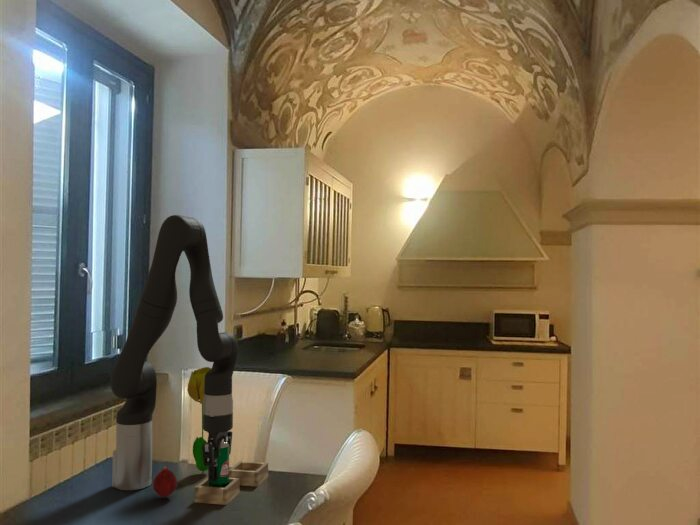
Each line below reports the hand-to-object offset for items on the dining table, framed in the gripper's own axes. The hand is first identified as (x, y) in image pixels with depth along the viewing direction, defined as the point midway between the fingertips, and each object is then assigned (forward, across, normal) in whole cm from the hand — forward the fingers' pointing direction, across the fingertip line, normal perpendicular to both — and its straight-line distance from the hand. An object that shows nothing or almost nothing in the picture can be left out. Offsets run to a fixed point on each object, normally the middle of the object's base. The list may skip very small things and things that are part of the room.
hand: (217, 477), depth 157 cm
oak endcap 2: (+5, -14, +3) cm, 15 cm away
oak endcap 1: (+5, 0, 0) cm, 5 cm away
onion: (+5, +3, -13) cm, 14 cm away
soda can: (+3, 0, 0) cm, 3 cm away
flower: (+5, -17, -12) cm, 21 cm away
